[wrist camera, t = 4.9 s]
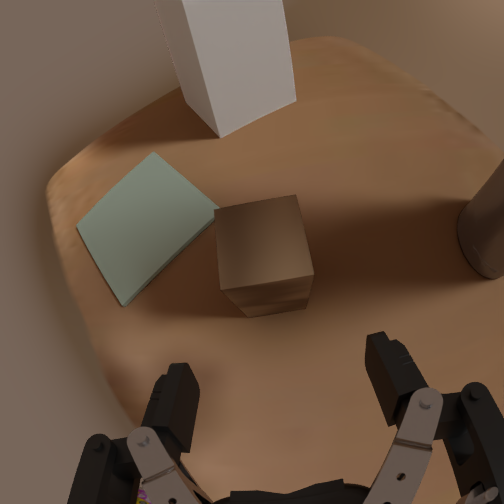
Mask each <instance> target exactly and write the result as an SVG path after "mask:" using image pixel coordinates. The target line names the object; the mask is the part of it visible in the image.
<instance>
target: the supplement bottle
mask: <svg viewBox="0 0 504 504" xmlns="http://www.w3.org/2000/svg"><path fill="white" fill-rule="evenodd" d="M136 504H151V502H150V500H149V498H148V497H147V495H146V493H145V491H144V489H143V488H139V490H138V496H137V502H136Z"/></svg>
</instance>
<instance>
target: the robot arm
mask: <svg viewBox="0 0 504 504" xmlns="http://www.w3.org/2000/svg"><path fill="white" fill-rule="evenodd" d="M457 231H458V238H459V241H460V245H461V248H462V250H463V252H464V255H465V257H466V258H467V260H468V261H469V263H470V264H471V265H472V267H473V268H474V269H475V270H476V271H477V272H478V273H480V274H481V275H483V276H485V277H487V278H491V279H497V278H500V277H502V276H504V159H503V161H502V162H501V163H500V165H499V166H498V167H497V169H496V170H495V171H494V173H493V174H492V175H491V177H490V178H489V179H488V180H487V182H486V183H485V184H484V185H483V187H482V188H481V189H480V190H479V191H478V193H477V194H476V195H475V196H474V197H473V199H472V200H471V201H470V202H469V203H468V204H467V206H466V207H465V208H464V209H463V210H462V211H461V213H460V215H459V219H458V229H457ZM365 367H366V371H367V373H368V376H369V378H370V381H371V383H372V386H373V388H374V391H375V393H376V396H377V398H378V401H379V403H380V406H381V409H382V411H383V414H384V417H385V419H386V422H387V425H388V427H389V426H392V425H395V424H396V426H397V429H398V431H397V433H396V436H395V438H394V440H393V443H392V445H391V447H390V450H389V452H388V454H387V456H386V458H385V460H384V462H383V464H382V466H381V468H380V470H379V472H378V474H377V476H376V478H375V480H374V481H373V483H372V485H371V487H370V488H368V487H366V486H362V485H358V484H349V483H344V482H343V479H338V480H334V481H329V482H324V483H318V484H314V485H311V486H309V487H306V488H303V489H301V490H298V491H295V492H292V493H289V494H280V493H272V492H265V491H258V490H256V491H231V492H230V497H226V498H223V499H220V500H218V501H215V502H213V501H212V500H211V499H210V498H209V496H208V495H207V494H206V493H205V492H204V491H203V490H202V489H201V488H200V486H199V485H198V484H197V482H196V481H195V480H194V478H193V477H192V475H191V474H190V473H189V471H188V470H187V468H186V467H185V465H184V464H183V462H182V461H181V460H180V456H181V452H182V453H190V448H191V442H192V436H193V430H194V425H195V419H196V413H197V408H198V402H199V397H200V389H199V385H198V382H197V380H196V378H195V376H194V374H193V372H192V370H191V368H190V366H189V364H188V363H172V364H170V366H169V369H168V372H167V375H161V377H160V378H159V379H158V380H157V381H156V383H155V385H154V388H153V391H152V392H153V393H152V394H151V397H150V400H149V403H148V406H147V409H146V412H145V415H144V418H143V421H142V424H141V427H139V428H136V429H134V430H133V431H132V432H131V433H130V434H129V436H128V437H126V438H120V439H114V440H110V439H109V438H108V437H107V436H106V435H103V434H95V435H93V436H91V437H90V438H89V439H88V440H87V442H86V444H85V447H84V450H83V453H82V456H81V459H80V462H79V465H78V468H77V471H76V475H75V478H74V481H73V484H72V488H71V492H70V495H69V499H68V502H67V504H136V502H137V496H138V490H139V484H140V479H141V478H142V477H143V480H144V481H143V482H142V487H143V489H144V491H145V493H146V495H147V497H148V498H149V500H150V502H151V504H411V503H412V501H413V499H414V497H415V494H416V492H417V490H418V488H419V485H420V483H421V480H422V478H423V476H424V473H425V470H426V468H427V465H428V462H429V460H430V457H431V453H432V447H431V446H432V442H433V440H439V439H443V442H444V444H445V447H446V450H447V453H448V456H449V459H450V462H451V465H452V468H453V471H454V474H455V478H456V481H457V484H458V488H459V491H460V495H461V498H460V499H459V500H458V501H457V503H456V504H504V418H503V416H502V414H501V412H500V410H499V408H498V407H497V405H496V403H495V401H494V399H493V397H492V396H491V394H490V392H489V390H488V389H487V387H486V386H485V385H483V384H481V383H479V382H472V383H469V384H467V385H466V386H465V387H464V388H463V389H462V391H461V392H457V393H449V394H440V392H438V391H437V390H436V389H433V388H429V386H428V385H427V383H426V381H425V380H424V378H423V376H422V374H421V373H420V371H419V369H418V367H417V366H416V364H415V362H413V359H412V357H411V355H409V352H408V350H407V349H406V347H405V345H403V344H402V343H400V342H399V341H398V340H396V339H395V340H392V341H390V340H389V339H388V337H387V335H386V333H385V332H384V331H382V332H378V333H374V334H370V335H367V339H366V351H365Z"/></svg>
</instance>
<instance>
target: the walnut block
mask: <svg viewBox="0 0 504 504" xmlns="http://www.w3.org/2000/svg"><path fill="white" fill-rule="evenodd" d="M214 221H215V234H216V247H217V259H218V270H219V281H220V290H221V291H222V292H223V293H224V294H225V295H226V296H227V297H228V298H229V299H230V300H231V301H232V302H233V303H234V304H235V305H236V306H237V307H238V308H239V309H240V310H241V311H242V312H243V313H244V314H245V315H246V316H247V317H249V318H251V317H258V316H264V315H271V314H277V313H283V312H289V311H295V310H300V309H306V306H307V302H308V298H309V294H310V290H311V286H312V282H313V278H314V270H313V265H312V261H311V256H310V251H309V247H308V243H307V238H306V234H305V229H304V225H303V221H302V217H301V213H300V209H299V204H298V200H297V196H296V195H290V196H284V197H278V198H272V199H267V200H261V201H256V202H250V203H245V204H239V205H234V206H229V207H224V208H219V209H214Z"/></svg>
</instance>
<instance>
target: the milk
mask: <svg viewBox="0 0 504 504" xmlns="http://www.w3.org/2000/svg"><path fill="white" fill-rule="evenodd" d="M154 4H155V8H156V11H157V14H158V17H159V21H160V24H161V27H162V30H163V33H164V37H165V40H166V43H167V46H168V49H169V52H170V55H171V59H172V62H173V65H174V68H175V71H176V74H177V77H178V80H179V83H180V87H181V90H182V93H183V96H184V99H185V102H186V103H187V104H188V105H189V106H190V107H191V108H192V109H193V110H194V111H195V112H196V113H197V114H198V115H199V117H200V118H201V119H202V120H203V121H204V122H205V123H206V124H207V125H208V126H209V127H210V128H211V129H212V130H213V131H214V132H215V133H216V134H217V135H218V136H219V137H220V138H222V137H224V136H226V135H228V134H230V133H232V132H233V131H235V130H237V129H239V128H241V127H243V126H245V125H247V124H249V123H251V122H253V121H255V120H257V119H259V118H261V117H263V116H265V115H267V114H269V113H271V112H273V111H275V110H278V109H280V108H282V107H284V106H286V105H288V104H291V103H293V102H295V101H296V93H295V84H294V76H293V68H292V60H291V53H290V46H289V39H288V33H287V26H286V20H285V14H284V8H283V3H282V0H154Z"/></svg>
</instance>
